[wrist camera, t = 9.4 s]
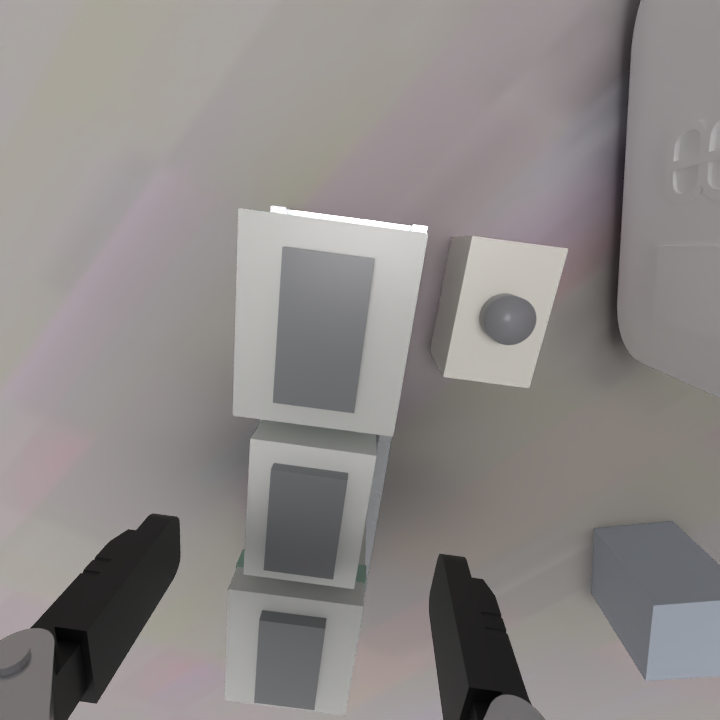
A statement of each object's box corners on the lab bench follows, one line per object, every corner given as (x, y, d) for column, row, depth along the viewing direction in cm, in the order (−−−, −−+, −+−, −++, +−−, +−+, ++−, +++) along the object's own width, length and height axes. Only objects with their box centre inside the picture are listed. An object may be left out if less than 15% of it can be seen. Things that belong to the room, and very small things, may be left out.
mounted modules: (407, 236, 16) (433, 231, 9) (354, 574, 22) (345, 728, 15) (292, 220, 16) (230, 204, 9) (268, 563, 22) (219, 712, 15)
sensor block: (526, 247, 18) (582, 248, 13) (498, 359, 19) (539, 397, 15) (450, 237, 18) (479, 235, 13) (429, 350, 19) (447, 385, 15)
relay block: (671, 520, 22) (754, 597, 17) (664, 586, 23) (738, 674, 19) (593, 527, 22) (653, 605, 17) (590, 592, 24) (645, 680, 19)
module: (375, 379, 19) (376, 463, 11) (360, 474, 20) (353, 599, 13) (294, 367, 18) (246, 445, 11) (286, 464, 20) (239, 584, 13)
